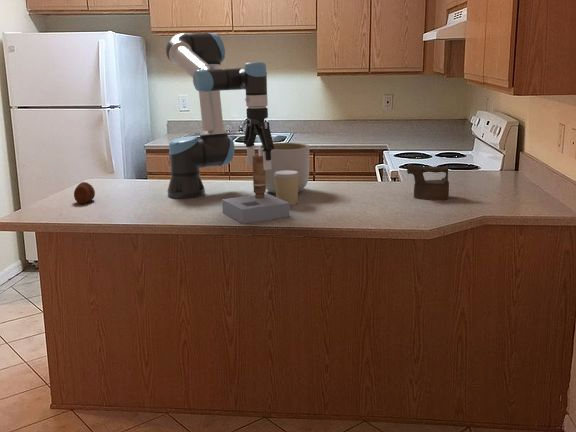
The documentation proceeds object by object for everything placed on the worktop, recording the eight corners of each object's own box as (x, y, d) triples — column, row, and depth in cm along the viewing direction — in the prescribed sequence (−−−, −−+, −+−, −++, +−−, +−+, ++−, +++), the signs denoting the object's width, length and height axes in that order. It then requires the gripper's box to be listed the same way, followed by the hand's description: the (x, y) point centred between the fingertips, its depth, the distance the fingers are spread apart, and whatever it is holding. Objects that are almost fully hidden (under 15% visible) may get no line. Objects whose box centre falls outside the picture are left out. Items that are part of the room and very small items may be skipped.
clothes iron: (405, 195, 252) (406, 162, 249) (446, 195, 251) (447, 161, 248) (407, 200, 245) (408, 165, 241) (449, 199, 244) (451, 165, 240)
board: (222, 212, 231) (222, 199, 230) (267, 206, 239) (266, 193, 238) (242, 223, 216) (242, 209, 215) (289, 216, 224) (289, 202, 223)
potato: (70, 205, 248) (68, 185, 246) (79, 199, 259) (77, 179, 257) (90, 205, 248) (87, 185, 246) (98, 198, 259) (96, 179, 257)
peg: (251, 196, 233) (250, 156, 229) (262, 195, 235) (261, 155, 231) (256, 199, 229) (255, 158, 225) (268, 197, 231) (267, 156, 227)
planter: (282, 199, 250) (281, 151, 246) (249, 191, 266) (248, 146, 261) (320, 191, 264) (319, 145, 259) (287, 184, 279) (286, 141, 274)
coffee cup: (298, 199, 249) (298, 169, 246) (299, 205, 240) (299, 174, 237) (274, 200, 249) (273, 170, 246) (275, 206, 240) (274, 174, 237)
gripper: (233, 106, 233) (235, 163, 238) (262, 109, 211) (265, 172, 216) (251, 104, 236) (254, 161, 241) (282, 108, 215) (284, 170, 220)
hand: (259, 167), depth 229 cm, fingers open, 13 cm apart
